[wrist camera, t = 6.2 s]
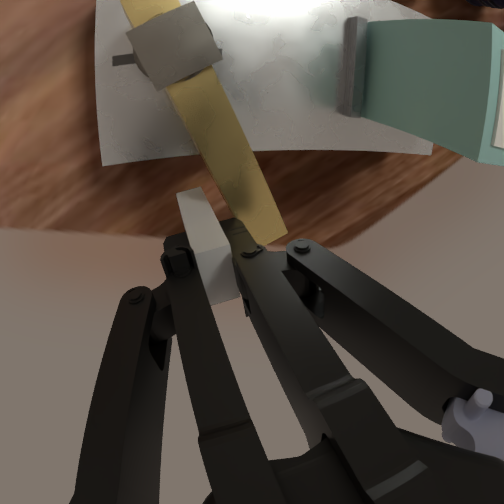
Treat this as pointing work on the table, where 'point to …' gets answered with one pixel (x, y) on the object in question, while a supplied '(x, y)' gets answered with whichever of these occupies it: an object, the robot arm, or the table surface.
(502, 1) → the storage jar
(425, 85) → the mint green box
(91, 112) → the table surface
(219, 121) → the hammer with yellow handle
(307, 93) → the white base platform
